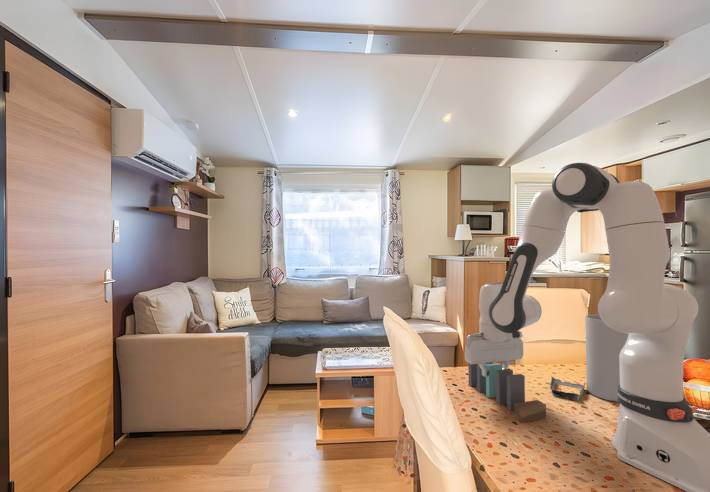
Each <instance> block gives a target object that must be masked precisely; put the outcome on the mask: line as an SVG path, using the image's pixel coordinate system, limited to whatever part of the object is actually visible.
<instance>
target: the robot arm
mask: <svg viewBox="0 0 710 492" xmlns="http://www.w3.org/2000/svg"><path fill="white" fill-rule="evenodd" d="M552 178H553V179H552V181H551V188H550V189H549V188H548V189H543V190H540V191H538V192H537V193H535V195H534V196H533V198H532V200H531V202H530V204H529V206H528V209H527V211H526V213H525V217H524V219H523V220H524V221H523V224H522V227H521V232H520V236H519V238H518V242H517V244H516V247H515V249H514V252H513V255H512V257H511V258H510V262H509V265H508V267H507V270H506V273H505V276H504V279H503V282H501V281H500V282H491V283H485V284H483V285H482V286H481V287H480V288H479V289H480V290H479V295H478V299H479V300H478V311H479V314H480V315H479V320H478V321H479V322H478V323H479V324H478V325H479V326H478V328H479V329H478V332H477V333H476V332H475V333H470V334H469V335H467V337H466V338H465V346H464V347H465V348H464V354H463V355H464V360H465V361H466V363H470V364H478V365H479V366H480V368H481V370H482V375H483V376H484V377H486V376H489V371H488V370H486V368H485V366H486V363H490V362H492V363H498V362H502V364H501V365H502V369H509V366H510V362H511V361H515V360H517V361H519V360H522V359H523V357H524V342H523V341H524V340H522V338H523V332H522V331H521V329H523V328H527V327H529V326H532V325H533V324H536V323H537V322H538V321H539V320H540V319H541V317H542V313H543V311H542V306H541V304H540V302H539V301H538V300H537V299H536V298H535V297H534V296H532V295H528V294H527V290H528V287H529V285H530V282H531V279H532V276H533V274H534V272H535V271H536V269H537V268H538V267H539V266H540V265H541V264H542V263H544V262H545V261H546V260H548V259H550V258H552V257H553V256H554V255H556V254H557V252H558V250H559V248H560V247H561V244H562V242H563V239H564V237H565V235H566V232H567V231H566V230H567V226H568V223H569V220H570V218H571V216H572V215H573V214H575V213H576V212H577V213H586V212H596V211H599V212H600V213H601V216H602V218H603V222H604V223H603V224H604V229H605V235H606V243H607V249H608V254H609V255H608V256H609V257H608V258H609V271H608V276H607V277H608V278H607V284H606V288H605V291H604V292H603V294H602V296H601V297H600V299H599V301H598V304H597V312H598V315H600V318H601V319H602V321H603V322H604V323H605V324H606V325H607V326H608V327H610V328H611V329H613V330H615V331H618V332H622V333H627V334H629V335H628V338H627V341H626V343H625V345H624V347H623V348H622V350H621V352H620V355H619V369H620V384H619V385H618V402H617V403H618V405H619V408H618V409H619V411H618V418H617V425H616V429H615V433H614V436H613V439H612V442H611V443H612V446H613V447H614V449H615V450H616V452H617V459H619V460H620V461H621V462H625V463H626V464H629V465H631V466H632V467H634V468H637V469H639V470H641V471H643V472H645V473H648V474H649V475H651V476H652V477H656V479H657V478H658V479H660V480H662V481H664V482H666V483H668V484H670V485H672V486H675V487H677V488H679V489H680V490H683V491H685V492H710V432H708V431H707V429H705V428H704V427H703V426H702V425H701V424H700V423H699V422H698V421H697V420H696V419H695V415H694V414H695V413H699V412H700V411H699V410H698V409H700V408H699V406H694V407H693V406H692V407H691V406H690V405H689V403H688V401H687V400H686V398H685V397H684V359H685V354H686V350H687V346H688V343H689V342H688V341H689V338H690V334H691V333H690V332H691V329H692V328H691V327H692V325H693V322H694V321H695V319H696V318H697V316H698V314H699V303H698V301H697V299H696V297H695V296H694V295H693V294H692V293H690V292H689V291H688V290H686V289H684V288H682V287H679V286H676V285H673V284H668V283H665V274H666V269H667V265H668V263H669V260H671V259H670V258H671V250H670V245H669V244H670V243H669V241H668V240H669V239H668V233H667V229H666V223H665V218H664V214H663V210H662V208H661V205H660V203H659V200H658V198H657V197H658V196H657V195H656V193H655V191H654V189H653V187H652V186H651V185H649V183H646V182H644V181H638V180H631V181H630V180H629V181H625V182H620V181H619V180H618V178H617V177H616V176H615V175H613V174H612V173H610V172H608V171H607V170H605V169H604V168H601V167H599V166H595V165H593V164H590V163H586V162H574V163H570V164H567V165H564V166H563V167H561V168H560V169H559V170H558V171H556V173H555V175H554V176H553V177H552Z"/></svg>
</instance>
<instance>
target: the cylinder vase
mask: <svg viewBox="0 0 710 492" xmlns="http://www.w3.org/2000/svg"><path fill="white" fill-rule="evenodd" d="M628 335H629V334H627V333H622V332H618V331H615V330H613V329H611V328H610V327H608V326H607V325H606V324H605V323H604V322H603V321H602V319H601V318H600V315H599V314H586V315H585V359H586V361H585V362H586V363H585V364H586V365H585V366H586V368H585V369H586V390H587V392H589V394H591V395H593V396H594V397H597V398H599V399H602V400H606V401H610V402H615V403H619V402H618V385H619V384H620V369H619V355H620V352H621V350H622V348H623V347H624V345H625V343H626V341H627V338H628Z"/></svg>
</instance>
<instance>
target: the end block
mask: <svg viewBox="0 0 710 492" xmlns="http://www.w3.org/2000/svg"><path fill="white" fill-rule="evenodd" d="M513 412H514V418H515V420H517V421H519V422H521V423H523V424H524V423H530V422H535V421H542V420H546V419H547V404H545V402H542V401H541V400H539V399H534V400H528V401H527V400H526V401H525V402H520V403H514V411H513Z"/></svg>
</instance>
